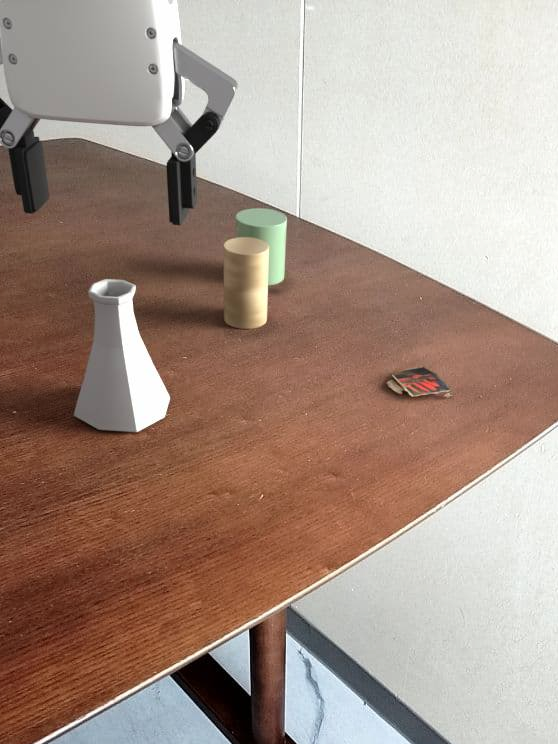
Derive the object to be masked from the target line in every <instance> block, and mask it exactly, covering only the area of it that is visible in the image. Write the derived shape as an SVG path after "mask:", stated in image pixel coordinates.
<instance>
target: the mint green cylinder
mask: <svg viewBox="0 0 558 744" xmlns="http://www.w3.org/2000/svg"><path fill="white" fill-rule="evenodd" d="M287 228H288V217H287V215H286V214H284V213H283V212H281V211H278V210H275V209H270V208H263V207H262V208H261V207H260V208H259V207H257V208H256V207H253V208H247V209H243V210H240V211H239V212H237V214H236V215H235V238H239V237H250V238H256V239H260V240H262V241H265V242H266V243H267V244H268V245H269V266H268V287H269V286H274V285H278V284H280V283H282V282H283V281H284V279H285V278H286V277H285V275H286V251H287V231H288V230H287Z"/></svg>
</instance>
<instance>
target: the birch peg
mask: <svg viewBox="0 0 558 744" xmlns="http://www.w3.org/2000/svg"><path fill="white" fill-rule="evenodd" d="M268 266H269V245H268V244H267V243H266V242H265V241H262V240H260V239H256V238H250V237H239V238H236V237H234V238H230V239H227V240H226V241H225V242H224V243H223V320H224V322H225V323H226V324H227V325H228V326H231V327H233V328H235V329H236V328H237V329H241V330H247V329H248V330H252V329H257V328H260V327H262V326H264V325H266V323H267V320H268V297H269V294H268V293H269V286H268Z"/></svg>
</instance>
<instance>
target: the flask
mask: <svg viewBox="0 0 558 744" xmlns="http://www.w3.org/2000/svg"><path fill="white" fill-rule="evenodd" d="M136 289H137V287H136V285H135V284H133V283H131V282H128V281H127V280H124V279H115V278H114V279H113V278H112V279H111V278H104V279H102V280H99V281H97V282H93V283H92V284H91V285H90V287H89V290H88V291H87V292H88V293H87V295H88V297H89V299H90V300H91V301H92V302H93V307H94V327H93V339H92V340H93V341H92V345H91V349H90V353H89V357H88V361H87V365H86V369H85V373H84V377H83V379H82V384H81V387H80V390H79V394H78V397H77V401H76V405H75V408H74V413H73V417H75V418H77V419H79V420H80V421H83V422H85V423H86V424H88V425H90V426H92V427H93V428H96V429H97V430H100V431H114V432H130V433H138V432H140V431H142V430H144V429H146V428H147V427H149V426H151V425H154V424H155V423H157V422H159V421H160V420H162V419H164V418H165V417H166V415H167V411H168V407H169V404H170V400H171V397H170V394H169V392H168V390H167V388H166V386H165V384H164V382H163V380H162V378H161V376H160V374H159V372H158V370H157V369H156V367H155V364H154V363H153V360H152V358H151V356H150V354H149V352H148V350H147V348H146V345H145V343H144V341H143V339H142V337H141V334H140V332H139V329H138V324H137V319H136V316H135V312H134V304H133V298H134V295H135V293H136Z"/></svg>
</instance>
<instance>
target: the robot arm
mask: <svg viewBox="0 0 558 744" xmlns="http://www.w3.org/2000/svg"><path fill="white" fill-rule="evenodd" d="M1 65H2V66H3V72H4V78H5V84H6V89H7V93H8V96H9V99H10V102H11V104H12V106H13V109H12V108H11V106H9V105H8V104H7V102H5V101H4V100H3V98H1V97H0V144H1V146H3V148H6V149H7V150H8V154H9V155H8V156H9V162H10V168H11V173H12V179H13V186H14V191H15V193H16V195H17V196H21V201H22V208H23V211H24V213H25V214H30V215H31V214H32V215H34V214H35V213H37V212H38V211H40V209H41V208H42V207H43V206H45V204H46V203H47V202H48V201H49V200H50V189H49V182H48V175H47V168H46V167H47V166H46V160H45V154H44V145H43V142H42V140H40V136H35V131H34V130H35V128H36V126H37V125H38V124H39V122H40V120H47V121H59V122H72V123H83V124H84V123H85V124H96V125H97V124H98V125H110V126H111V125H113V126H126V127H151V128H152V129H153V130H154V131H155V133H156V134H157V135H158V137H159V138H160V139H161V140H162V141H163V143H164V144H165V145H166V147H167V148H168V149H169V150H170V151H171V153H170V154H171V156H170V157H169V158H168V160H167V162H166V165H165V166H166V184H167V185H166V186H167V200H168V201H167V203H168V204H167V205H168V220H169V223H172V225H173V226H182V225H183V223H184V221H185V219H186V218H187V216H188V214H189V213H190V209H191V210H193V209H196V206H197V201H198V183H197V157H196V154H197V153H198V152H199V151H200V150H201V149H203V147H204V146H205V144H207V143H208V141H210V139H211V138H213V136H214V135H215V134H217V132H218V130H219V129H220V128H221V126H222V124H223V121H224V120H225V118H226V116H227V114H228V111H229V110H230V107H231V105H232V103H233V101H234V99H235V97H236V94H237V93H238V90H239V86H238V82H237V80H236V79H235V78H234V77H232V76H231V75H229V74H227V73H225V72H224V71H223V70H221V69H219V68H218V67H216V66H215V65H214V64H212V63H211V62H208V60H206V59H204V58H203V57H201V56H199V55H198V54H197V53H195V52H193V51H192V50H190V49H189V48H187V47H186V46H184V45H182V35H181V25H180V15H179V8H178V0H0V66H1ZM185 80H186V81H187V82H189V83H191V84H193V85H194V86H196V87H197V88H198V89H201V90H202V91H204V92H205V93H206V95H207V104H206V106H205V108H204V110H203V112H202V114H201V115H200V117H199V118H197V119H196V121H194V123H192V122H191V121H190V120H189V118H188V117H187V116H186V115H185V113H184V112H183V111H182V108H180V107H179V106H181V105H182V103H183V101H184V98H185V87H186V86H185Z"/></svg>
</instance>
